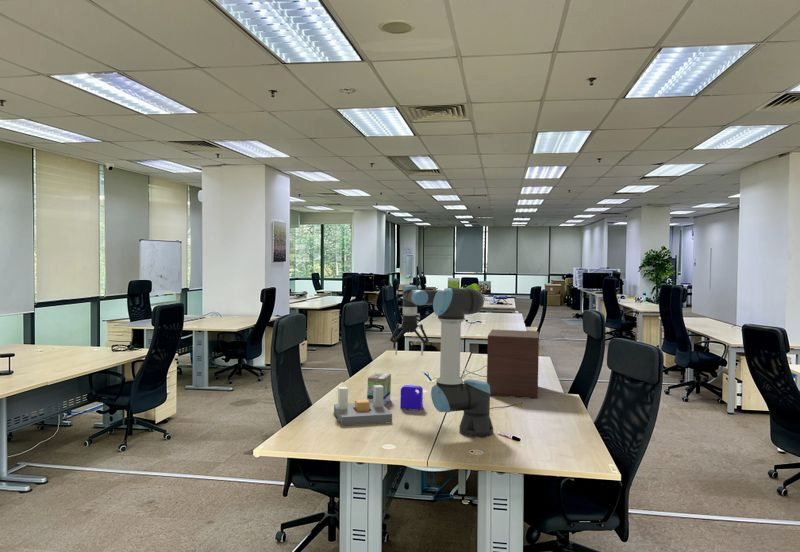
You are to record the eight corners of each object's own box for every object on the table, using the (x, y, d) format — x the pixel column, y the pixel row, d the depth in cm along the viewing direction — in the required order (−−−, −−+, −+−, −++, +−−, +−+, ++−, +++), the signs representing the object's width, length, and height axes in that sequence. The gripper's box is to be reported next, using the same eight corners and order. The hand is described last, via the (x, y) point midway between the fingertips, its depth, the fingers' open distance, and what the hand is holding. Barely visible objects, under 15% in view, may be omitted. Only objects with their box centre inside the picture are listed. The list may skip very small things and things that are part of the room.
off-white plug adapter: (347, 409, 259) (347, 388, 259) (339, 409, 258) (339, 389, 258) (345, 406, 264) (346, 386, 264) (337, 406, 263) (338, 386, 262)
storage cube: (537, 399, 303) (538, 337, 303) (486, 395, 310) (487, 335, 310) (537, 386, 337) (538, 331, 337) (491, 383, 344) (492, 329, 344)
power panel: (392, 422, 251) (392, 414, 251) (341, 425, 245) (341, 417, 244) (380, 409, 274) (380, 401, 274) (333, 412, 268) (334, 404, 268)
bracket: (420, 410, 274) (421, 387, 274) (400, 408, 277) (400, 386, 277) (427, 402, 292) (427, 380, 292) (407, 400, 294) (408, 379, 294)
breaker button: (369, 412, 257) (369, 402, 257) (357, 413, 256) (357, 402, 256) (366, 409, 263) (367, 399, 263) (354, 409, 261) (355, 399, 261)
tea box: (384, 406, 281) (385, 378, 281) (366, 405, 283) (366, 377, 283) (390, 399, 296) (391, 373, 296) (373, 398, 298) (373, 372, 298)
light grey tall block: (383, 407, 264) (383, 387, 264) (375, 407, 263) (375, 387, 263) (380, 404, 269) (381, 384, 268) (373, 405, 267) (373, 385, 267)
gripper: (432, 314, 282) (432, 354, 283) (385, 313, 281) (385, 353, 282) (434, 315, 275) (433, 356, 275) (386, 315, 274) (385, 356, 274)
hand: (409, 355), depth 278 cm, fingers open, 13 cm apart
